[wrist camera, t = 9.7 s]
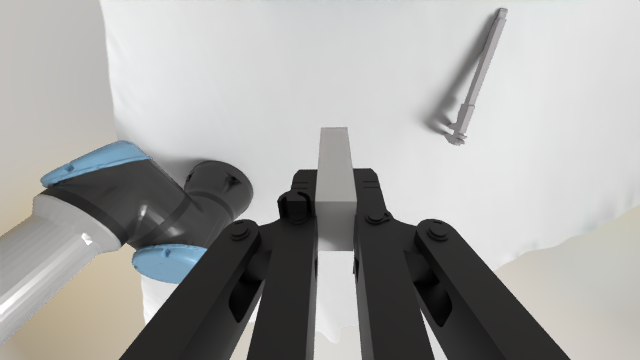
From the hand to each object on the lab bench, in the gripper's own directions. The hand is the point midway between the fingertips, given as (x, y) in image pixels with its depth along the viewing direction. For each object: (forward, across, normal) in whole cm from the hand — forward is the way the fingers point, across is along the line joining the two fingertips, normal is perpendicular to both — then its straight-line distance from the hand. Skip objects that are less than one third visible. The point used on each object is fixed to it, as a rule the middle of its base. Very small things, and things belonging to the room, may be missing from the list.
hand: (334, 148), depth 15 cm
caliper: (+32, +24, -4) cm, 40 cm away
